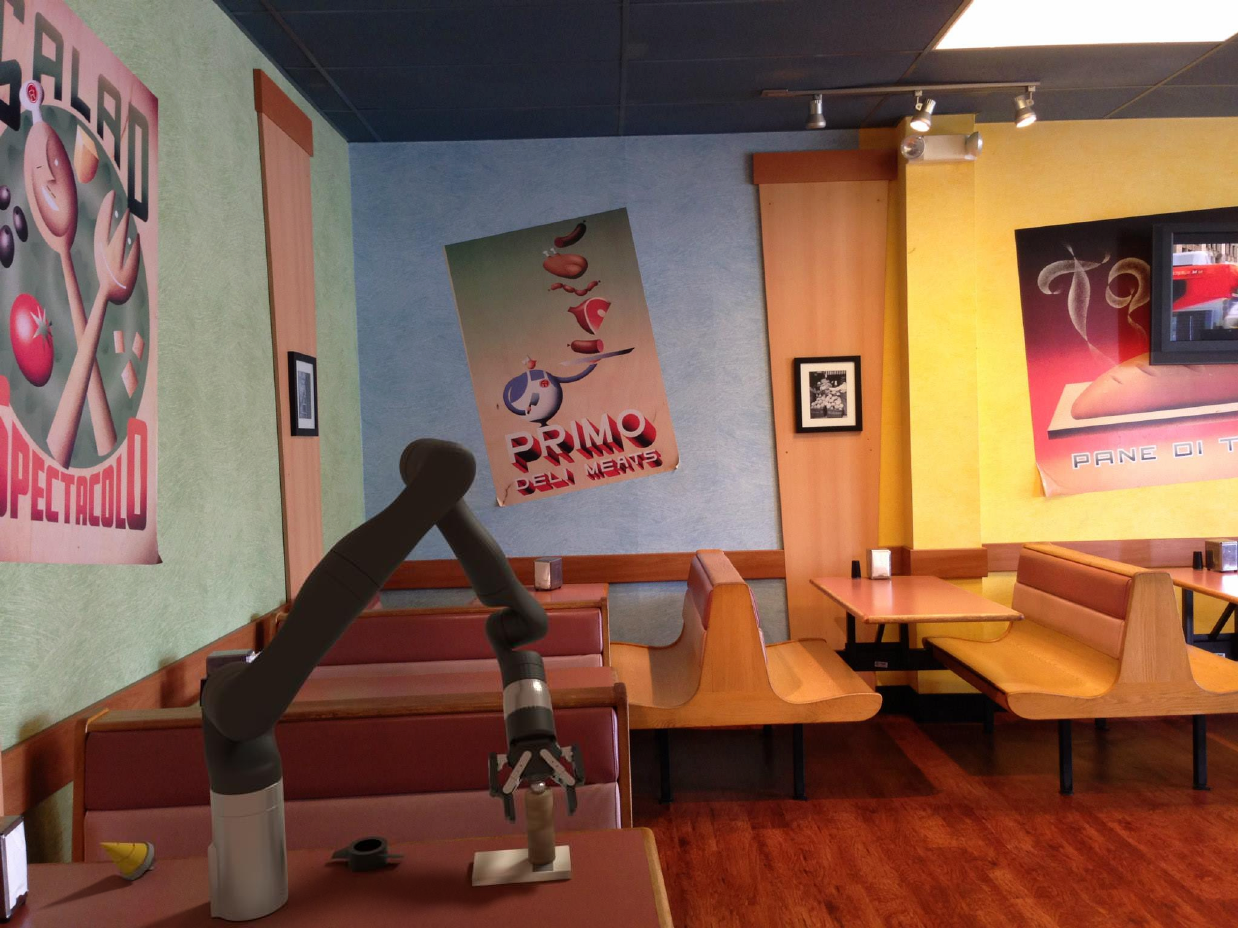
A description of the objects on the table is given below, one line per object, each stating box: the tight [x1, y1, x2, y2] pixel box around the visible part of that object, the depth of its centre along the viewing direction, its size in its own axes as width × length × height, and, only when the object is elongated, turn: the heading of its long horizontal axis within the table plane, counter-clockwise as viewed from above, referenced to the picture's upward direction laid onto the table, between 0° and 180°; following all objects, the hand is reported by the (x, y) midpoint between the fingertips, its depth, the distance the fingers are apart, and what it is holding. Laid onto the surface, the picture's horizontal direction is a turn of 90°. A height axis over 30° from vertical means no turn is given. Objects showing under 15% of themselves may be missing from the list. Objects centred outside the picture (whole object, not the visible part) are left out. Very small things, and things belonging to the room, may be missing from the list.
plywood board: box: [471, 845, 572, 887], centre depth 134 cm, size 14×8×1 cm, turn 96°
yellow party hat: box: [99, 840, 159, 881], centre depth 134 cm, size 5×5×10 cm
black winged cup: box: [330, 835, 406, 873], centre depth 137 cm, size 8×10×3 cm
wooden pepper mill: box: [524, 780, 556, 865], centre depth 134 cm, size 4×4×11 cm
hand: (542, 818), depth 132 cm, fingers open, 8 cm apart
